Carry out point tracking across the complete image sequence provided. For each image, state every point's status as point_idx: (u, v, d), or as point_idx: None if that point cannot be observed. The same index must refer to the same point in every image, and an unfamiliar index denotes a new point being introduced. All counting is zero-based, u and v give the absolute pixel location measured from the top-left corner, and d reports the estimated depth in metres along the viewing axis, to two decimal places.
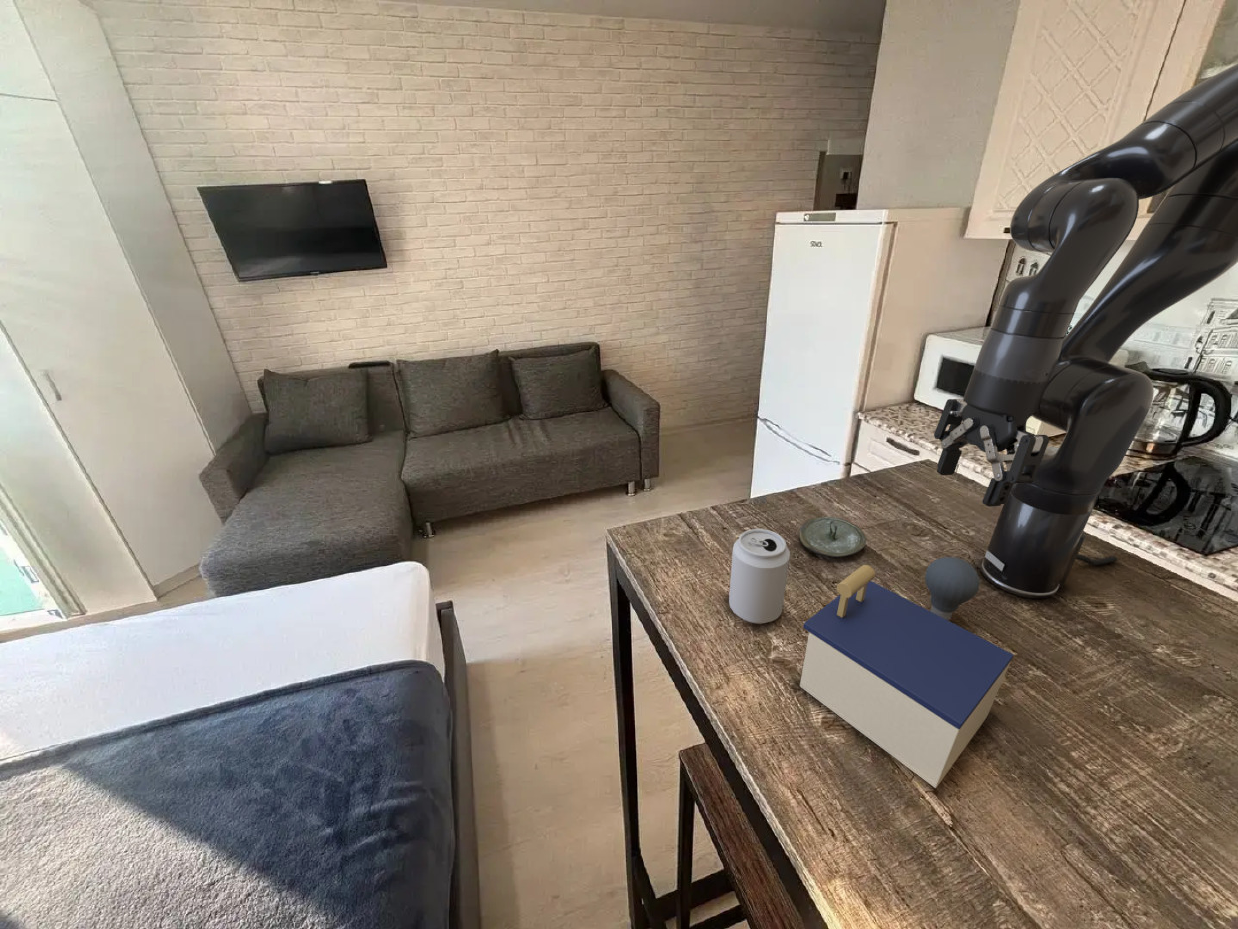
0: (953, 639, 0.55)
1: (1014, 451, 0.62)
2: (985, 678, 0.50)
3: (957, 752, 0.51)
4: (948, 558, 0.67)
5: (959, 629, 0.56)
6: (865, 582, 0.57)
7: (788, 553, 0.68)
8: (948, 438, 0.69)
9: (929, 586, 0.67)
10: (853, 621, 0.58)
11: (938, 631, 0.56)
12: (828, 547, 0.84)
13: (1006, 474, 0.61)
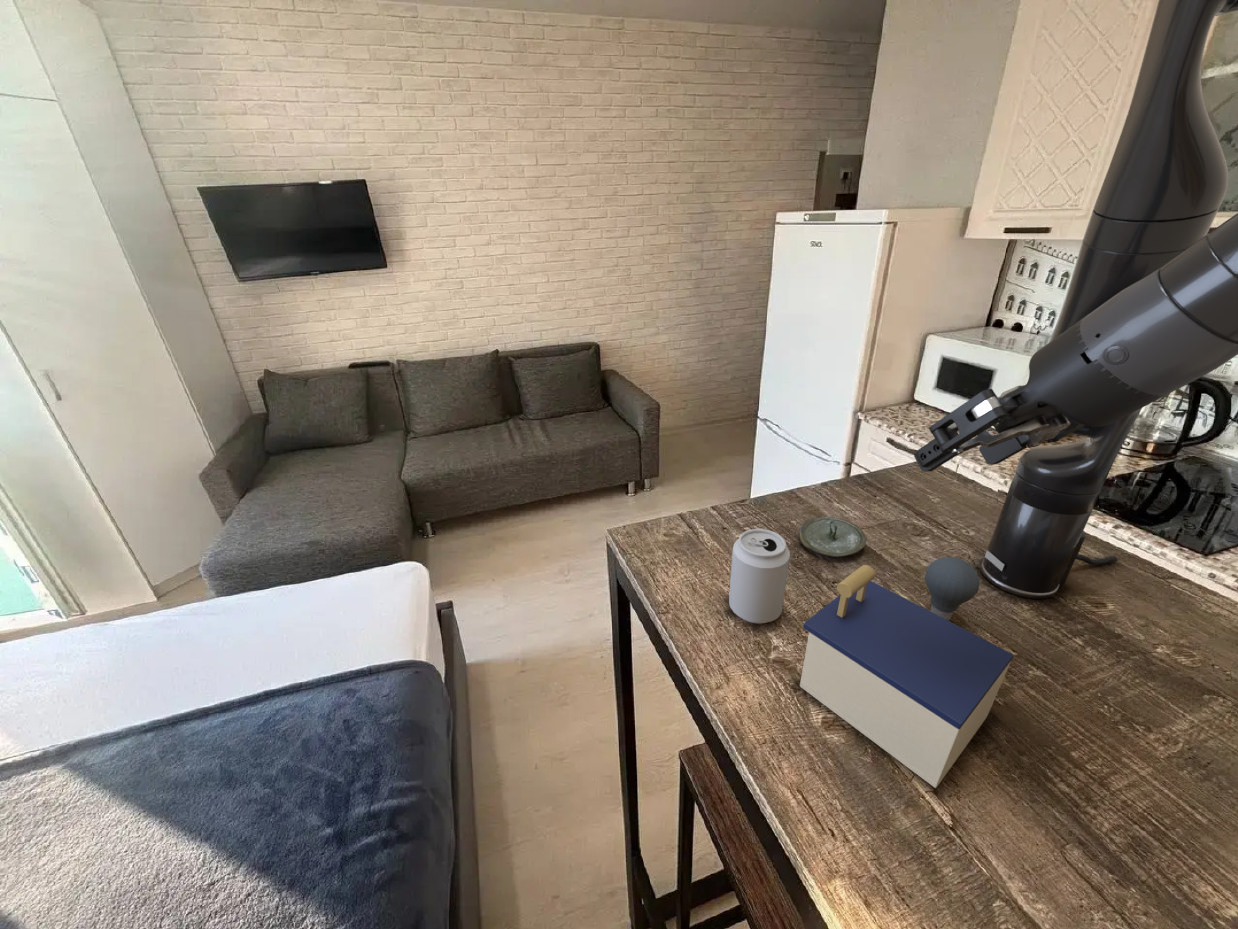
0: (953, 639, 0.55)
1: None
2: (985, 678, 0.50)
3: (957, 752, 0.51)
4: (948, 558, 0.67)
5: (959, 629, 0.56)
6: (865, 582, 0.57)
7: (788, 553, 0.68)
8: (971, 445, 0.44)
9: (929, 586, 0.67)
10: (853, 621, 0.58)
11: (938, 631, 0.56)
12: (828, 547, 0.84)
13: None
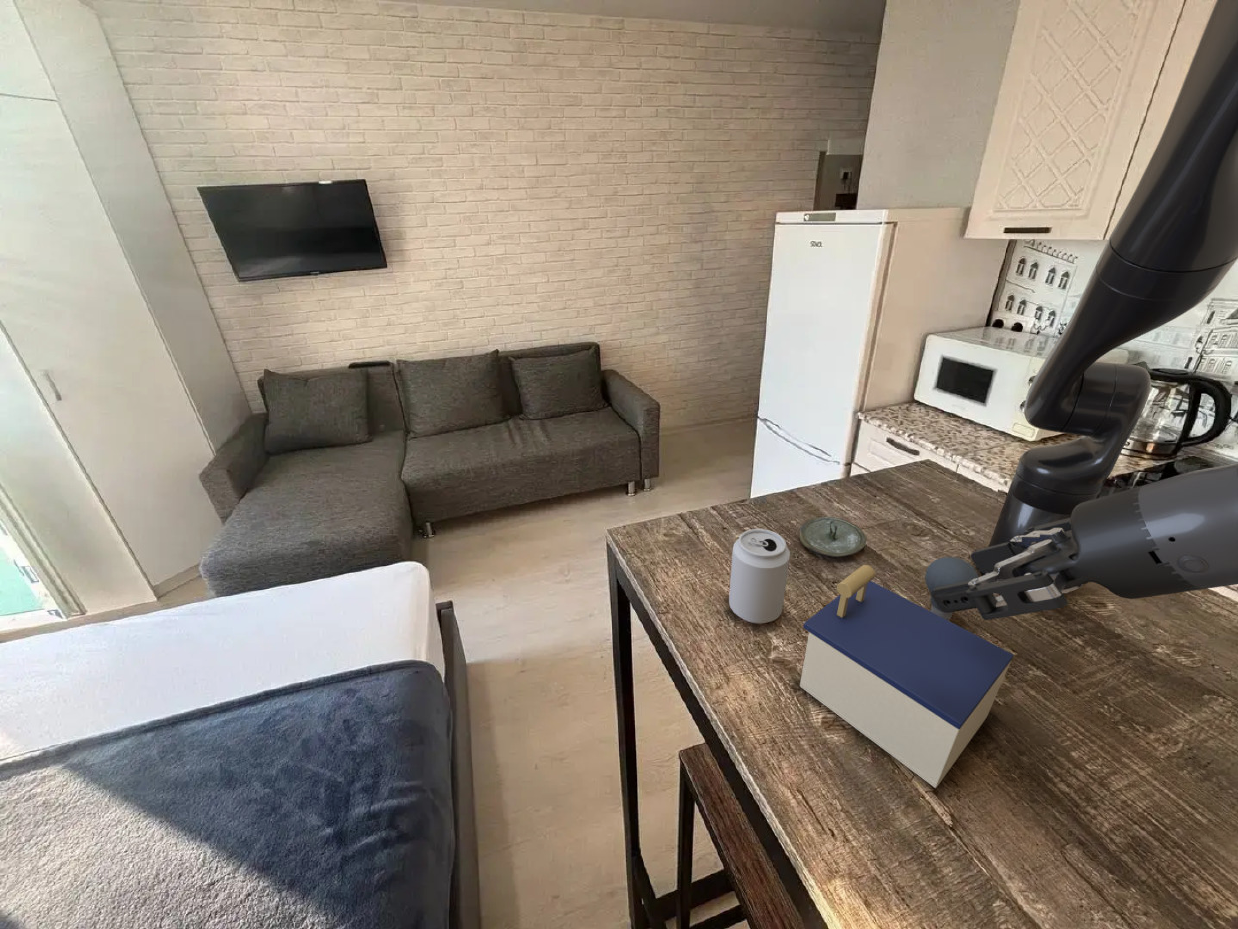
0: (953, 639, 0.55)
1: None
2: (985, 678, 0.50)
3: (957, 752, 0.51)
4: (948, 558, 0.67)
5: (959, 629, 0.56)
6: (865, 582, 0.57)
7: (788, 553, 0.68)
8: (1006, 603, 0.42)
9: (929, 586, 0.67)
10: (853, 621, 0.58)
11: (938, 631, 0.56)
12: (828, 547, 0.84)
13: None
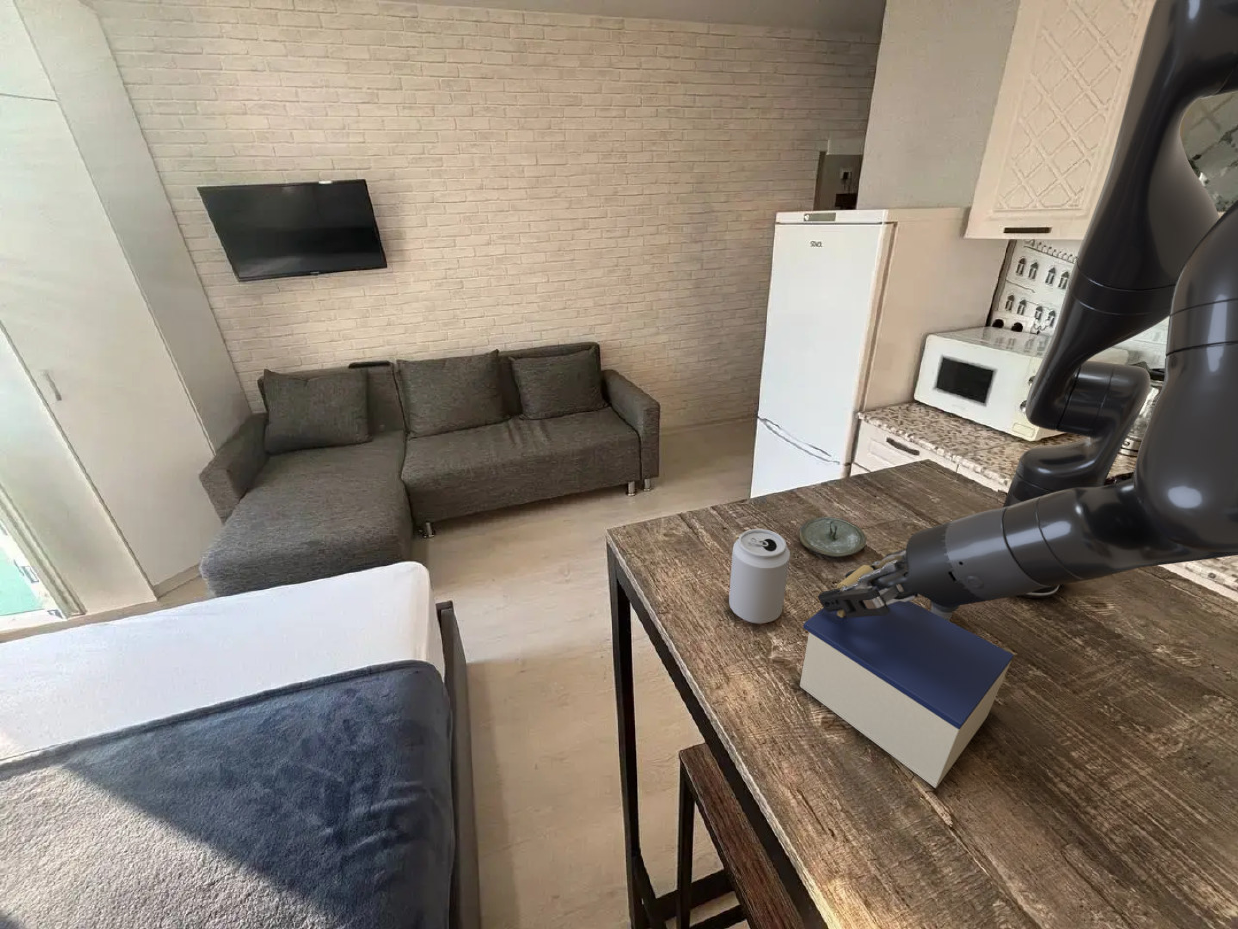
0: (953, 639, 0.55)
1: None
2: (985, 678, 0.50)
3: (957, 752, 0.51)
4: None
5: (959, 629, 0.56)
6: None
7: (788, 553, 0.68)
8: None
9: None
10: (853, 621, 0.58)
11: (938, 631, 0.56)
12: (828, 547, 0.84)
13: None
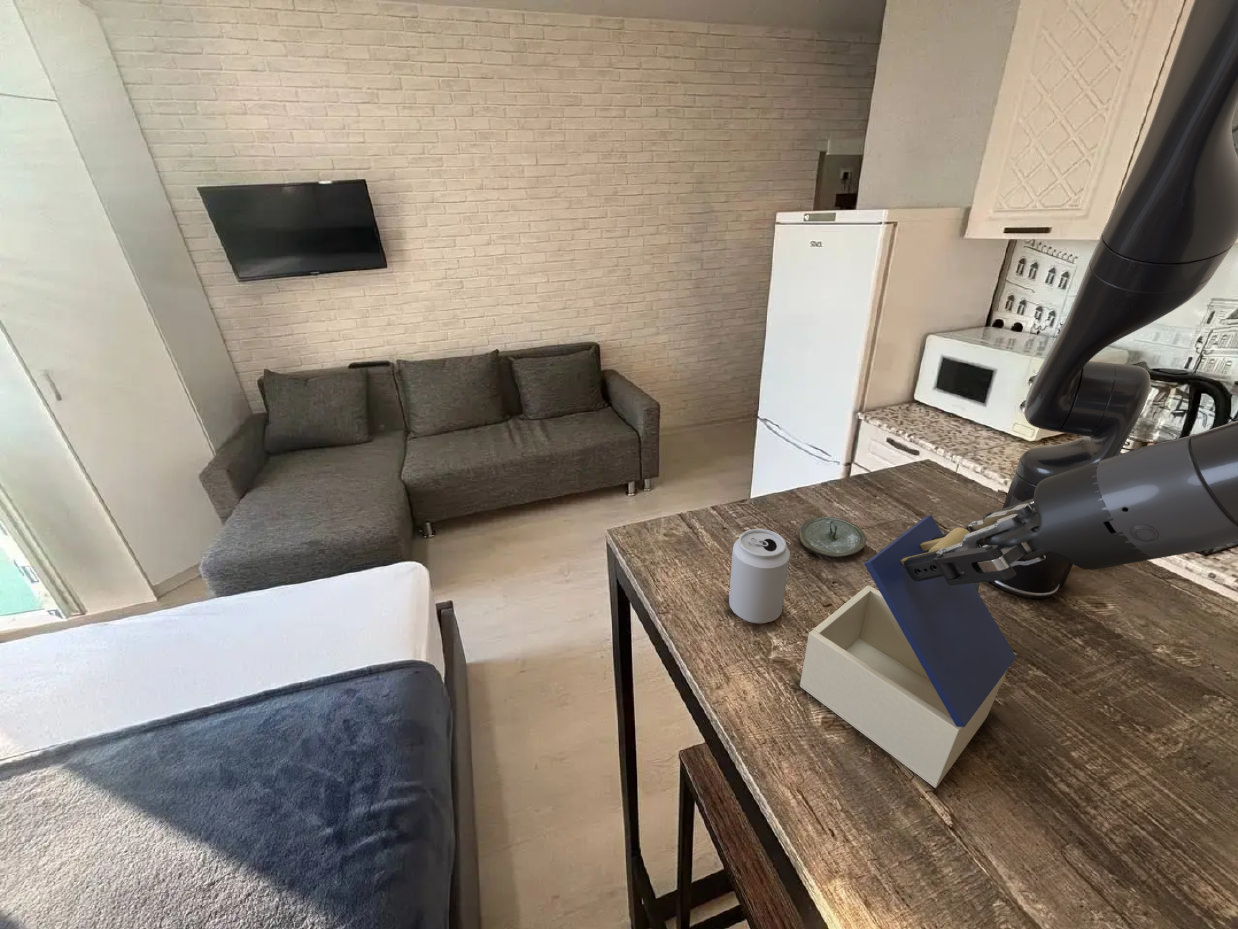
0: (981, 625, 0.52)
1: None
2: (992, 679, 0.50)
3: (957, 752, 0.51)
4: None
5: (988, 614, 0.53)
6: None
7: (788, 553, 0.68)
8: None
9: None
10: None
11: (973, 611, 0.52)
12: (828, 547, 0.84)
13: None
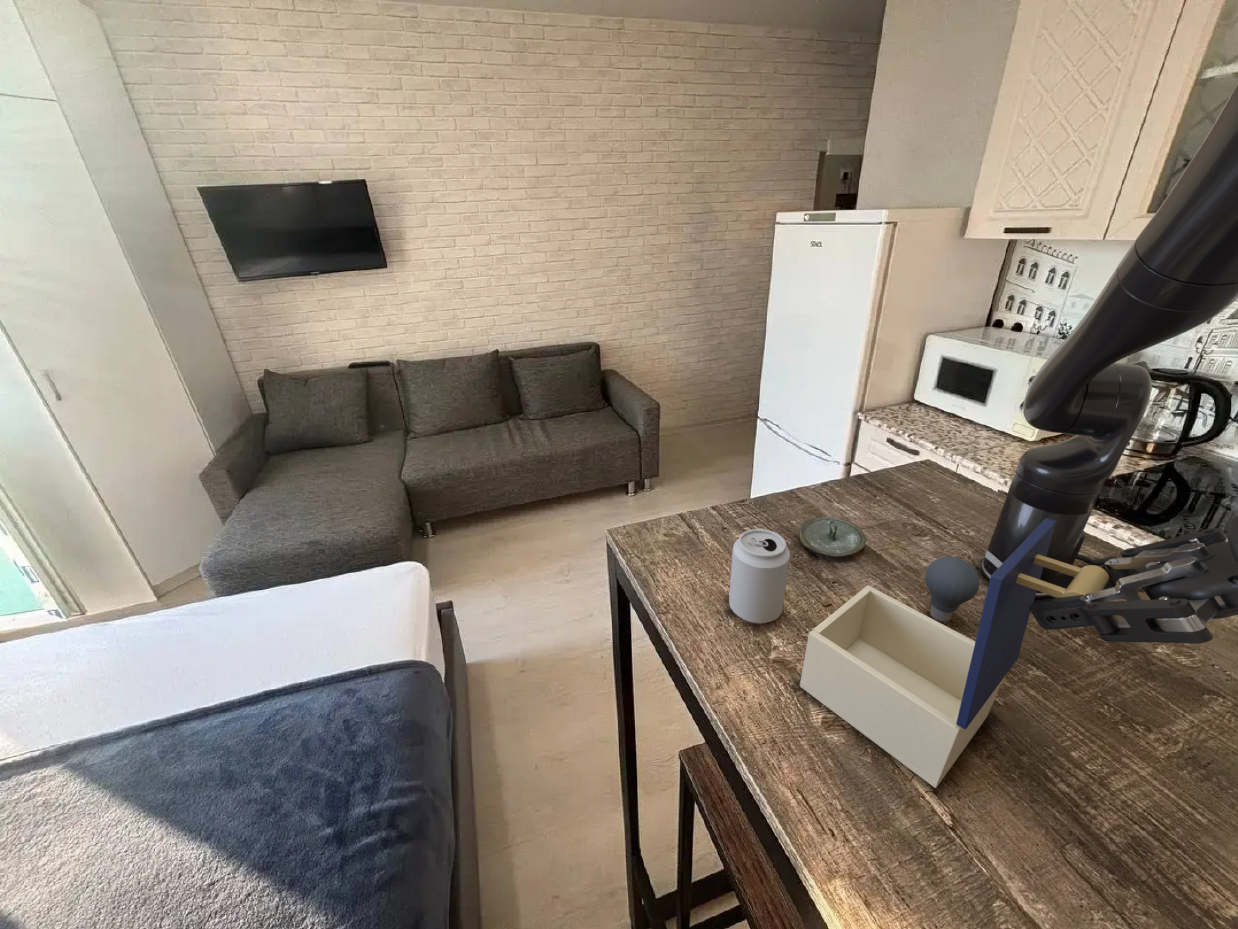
0: (1018, 634, 0.49)
1: None
2: (997, 682, 0.49)
3: (957, 752, 0.51)
4: (948, 558, 0.67)
5: (1026, 623, 0.50)
6: None
7: (788, 553, 0.68)
8: None
9: (929, 586, 0.67)
10: (1014, 590, 0.43)
11: (1021, 622, 0.49)
12: (828, 547, 0.84)
13: None
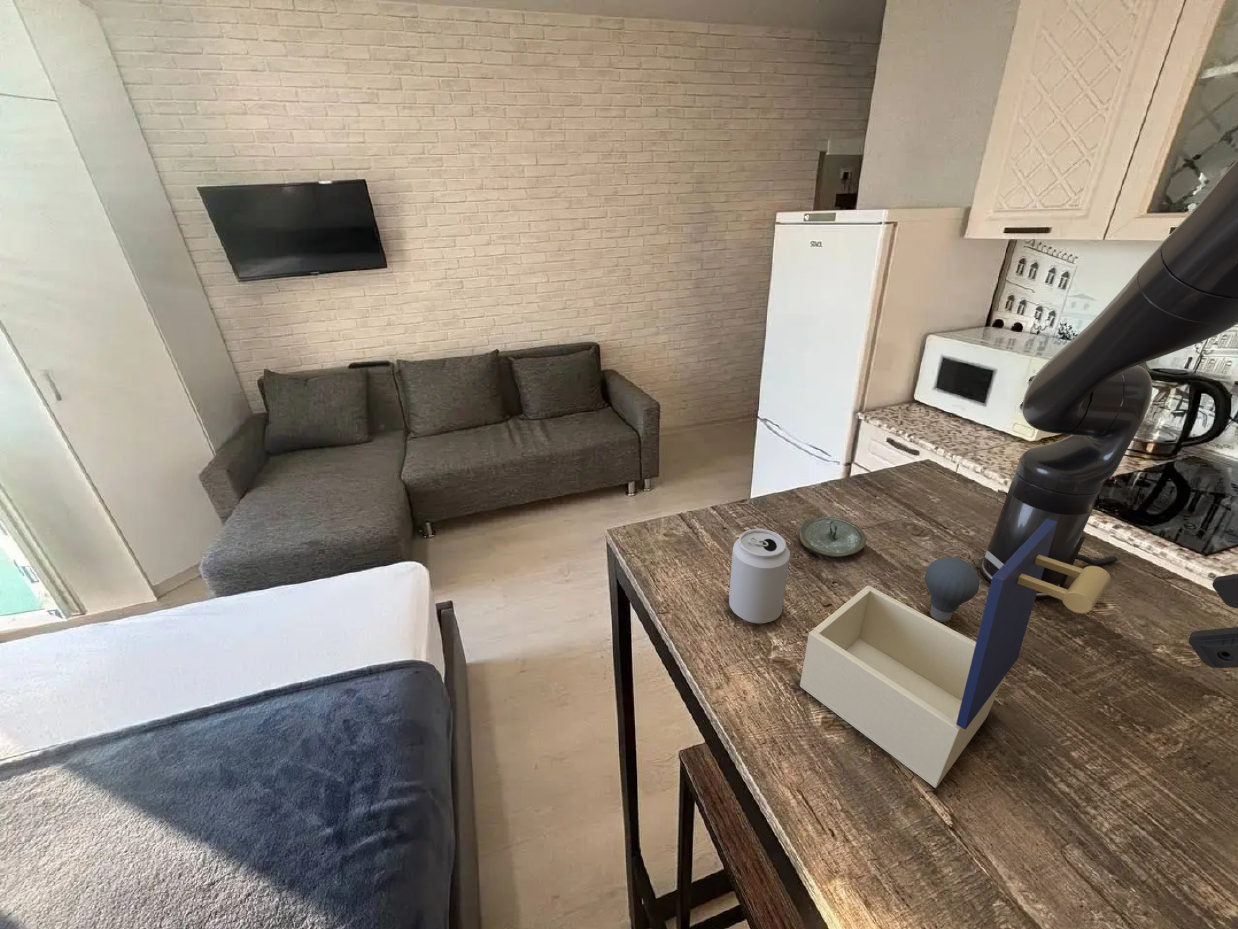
0: (1019, 634, 0.49)
1: None
2: (997, 682, 0.49)
3: (957, 752, 0.51)
4: (948, 558, 0.67)
5: (1027, 623, 0.50)
6: None
7: (788, 553, 0.68)
8: None
9: (929, 586, 0.67)
10: (1016, 590, 0.43)
11: (1022, 622, 0.49)
12: (828, 547, 0.84)
13: None
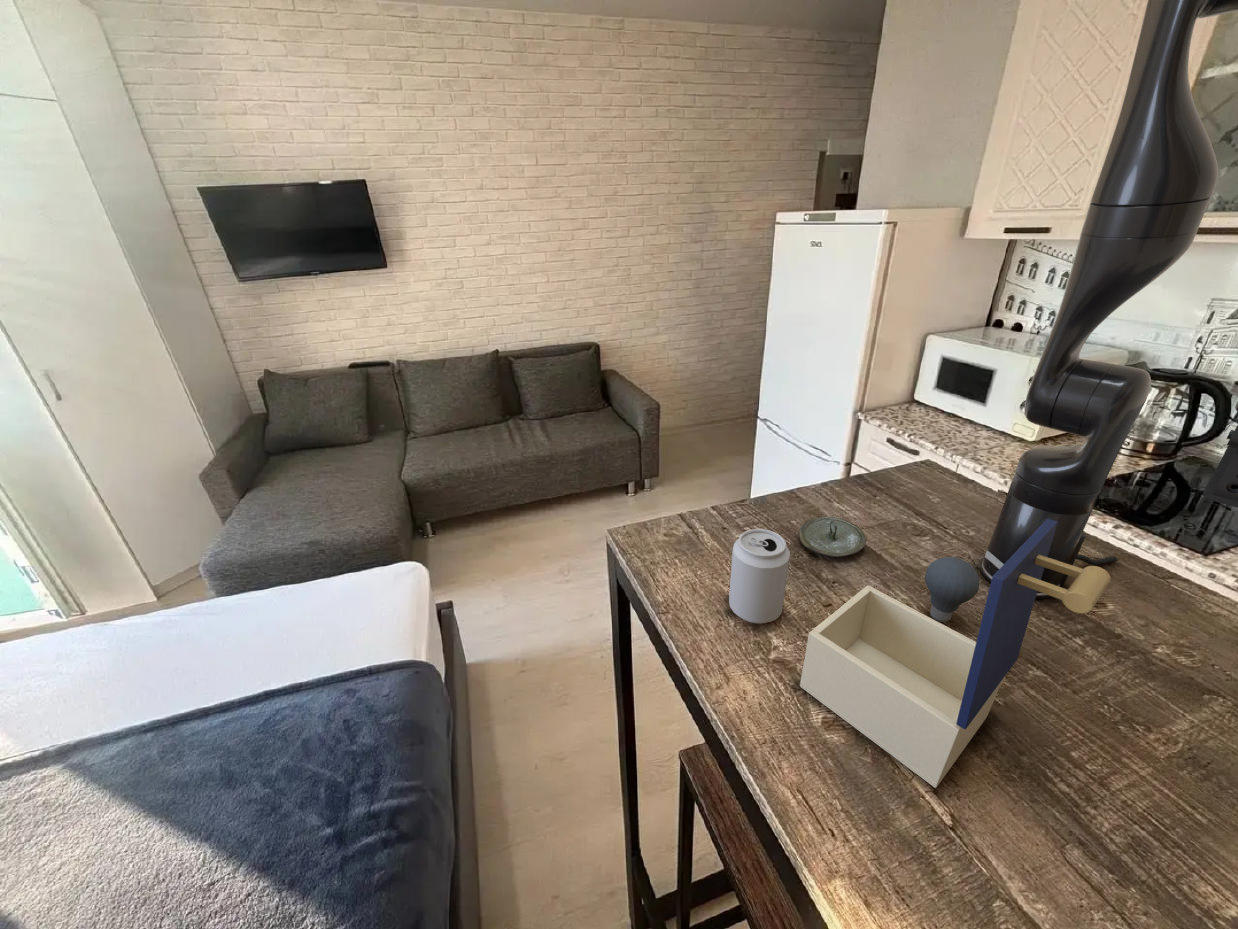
0: (1019, 634, 0.49)
1: None
2: (997, 682, 0.49)
3: (957, 752, 0.51)
4: (948, 558, 0.67)
5: (1027, 623, 0.50)
6: None
7: (788, 553, 0.68)
8: None
9: (929, 586, 0.67)
10: (1016, 590, 0.43)
11: (1022, 622, 0.49)
12: (828, 547, 0.84)
13: None
